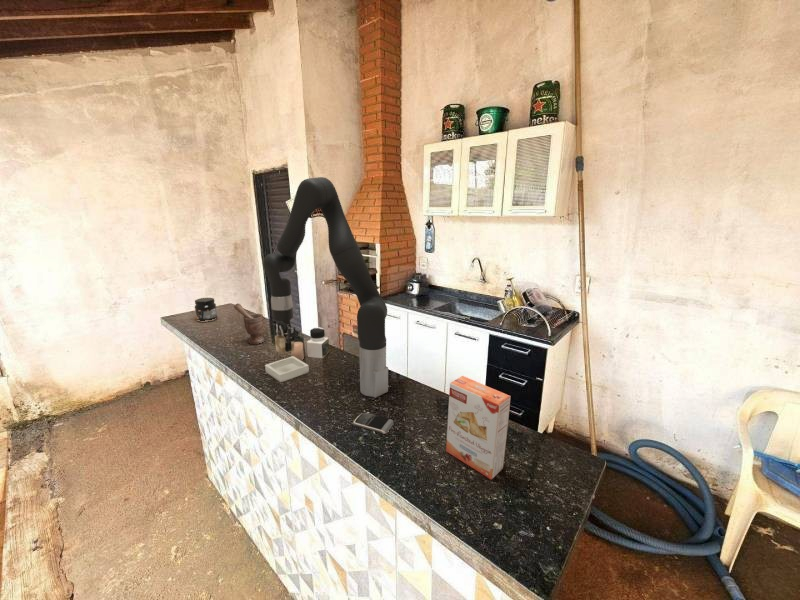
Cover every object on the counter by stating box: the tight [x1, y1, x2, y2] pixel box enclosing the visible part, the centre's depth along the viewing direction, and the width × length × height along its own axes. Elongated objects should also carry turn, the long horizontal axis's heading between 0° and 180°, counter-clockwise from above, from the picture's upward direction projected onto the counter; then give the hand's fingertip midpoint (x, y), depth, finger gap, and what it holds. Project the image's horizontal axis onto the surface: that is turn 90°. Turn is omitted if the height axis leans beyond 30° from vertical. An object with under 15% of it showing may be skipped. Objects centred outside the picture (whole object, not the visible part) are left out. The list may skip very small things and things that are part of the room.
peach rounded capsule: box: [290, 341, 305, 362], centre depth 146 cm, size 5×5×7 cm
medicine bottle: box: [306, 327, 330, 359], centre depth 151 cm, size 7×7×12 cm
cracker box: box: [445, 375, 511, 481], centre depth 86 cm, size 14×6×21 cm, turn 45°
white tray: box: [264, 356, 310, 383], centre depth 135 cm, size 12×12×3 cm
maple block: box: [274, 333, 295, 355], centre depth 132 cm, size 5×5×6 cm
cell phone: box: [353, 412, 394, 434], centre depth 104 cm, size 6×11×1 cm, turn 67°
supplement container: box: [194, 297, 218, 321], centre depth 195 cm, size 10×10×12 cm
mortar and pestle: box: [233, 303, 266, 345], centre depth 161 cm, size 12×9×20 cm
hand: (285, 348), depth 133 cm, fingers closed on maple block, 5 cm apart
